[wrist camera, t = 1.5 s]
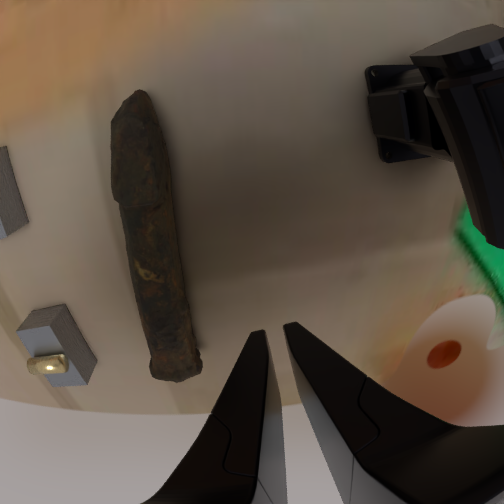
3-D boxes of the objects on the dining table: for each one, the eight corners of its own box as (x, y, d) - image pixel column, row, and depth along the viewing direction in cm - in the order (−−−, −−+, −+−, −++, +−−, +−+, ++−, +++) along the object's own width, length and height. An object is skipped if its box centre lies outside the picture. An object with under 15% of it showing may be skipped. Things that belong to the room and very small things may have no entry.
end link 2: (64, 303, 21) (41, 337, 17) (97, 361, 24) (82, 397, 20) (31, 311, 21) (7, 342, 17) (64, 364, 24) (47, 397, 20)
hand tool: (203, 350, 24) (201, 392, 20) (155, 350, 24) (145, 391, 20) (191, 90, 17) (182, 80, 13) (128, 95, 17) (101, 89, 12)
